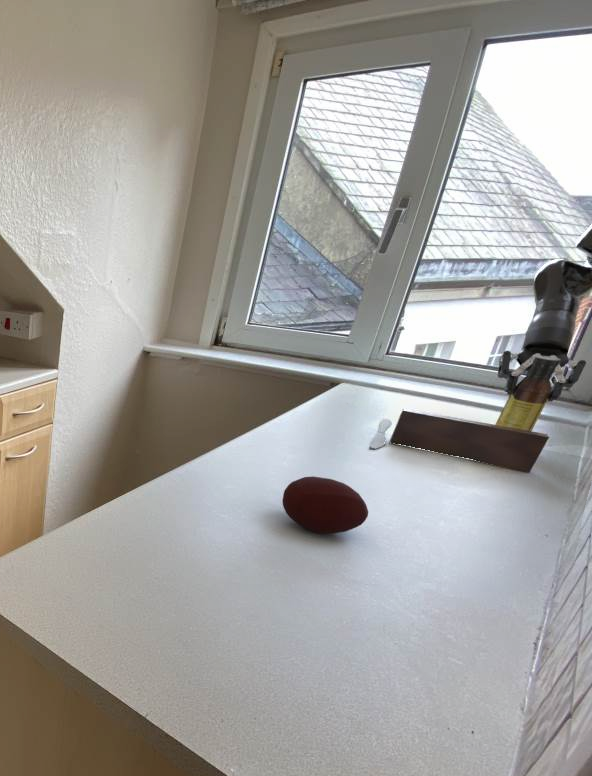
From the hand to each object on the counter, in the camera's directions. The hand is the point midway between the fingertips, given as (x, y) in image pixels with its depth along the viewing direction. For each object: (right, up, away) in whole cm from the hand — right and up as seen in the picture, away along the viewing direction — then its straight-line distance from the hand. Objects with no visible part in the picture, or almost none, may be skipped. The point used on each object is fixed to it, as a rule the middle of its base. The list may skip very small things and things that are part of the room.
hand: (530, 396), depth 123 cm
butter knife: (-27, -8, +9) cm, 29 cm away
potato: (-70, -27, -32) cm, 82 cm away
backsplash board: (-19, -14, -2) cm, 23 cm away
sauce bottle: (+1, -10, +6) cm, 12 cm away
